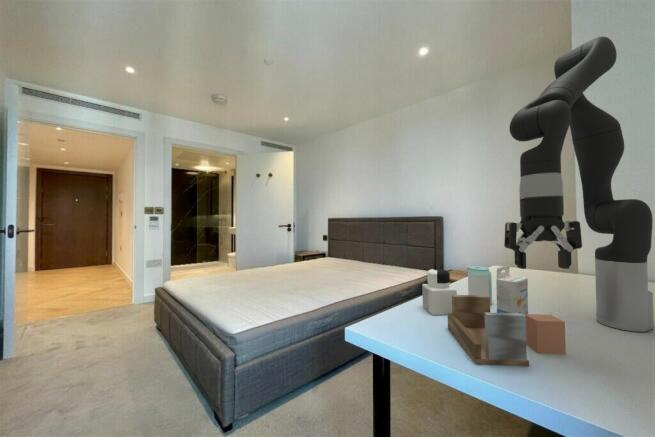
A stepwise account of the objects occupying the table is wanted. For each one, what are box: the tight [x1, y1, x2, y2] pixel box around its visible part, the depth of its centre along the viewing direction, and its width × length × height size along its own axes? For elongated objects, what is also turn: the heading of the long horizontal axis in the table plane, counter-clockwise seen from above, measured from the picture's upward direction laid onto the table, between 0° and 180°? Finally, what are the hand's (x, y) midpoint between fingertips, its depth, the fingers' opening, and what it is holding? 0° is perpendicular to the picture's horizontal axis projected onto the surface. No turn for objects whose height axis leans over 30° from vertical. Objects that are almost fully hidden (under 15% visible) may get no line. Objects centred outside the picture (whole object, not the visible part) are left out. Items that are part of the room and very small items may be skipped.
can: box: [467, 265, 493, 304], centre depth 89 cm, size 7×7×12 cm
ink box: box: [495, 264, 529, 315], centre depth 75 cm, size 8×5×15 cm, turn 123°
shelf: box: [447, 294, 530, 367], centre depth 60 cm, size 10×17×10 cm, turn 172°
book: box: [525, 313, 567, 355], centre depth 58 cm, size 6×4×7 cm
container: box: [421, 268, 458, 316], centre depth 83 cm, size 8×8×13 cm
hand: (542, 268), depth 58 cm, fingers open, 8 cm apart
